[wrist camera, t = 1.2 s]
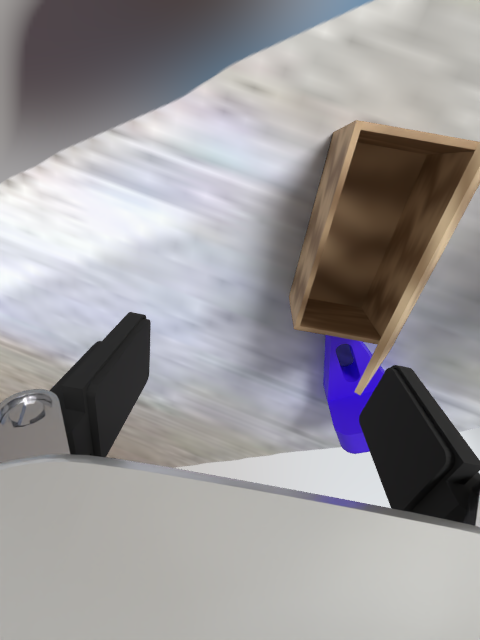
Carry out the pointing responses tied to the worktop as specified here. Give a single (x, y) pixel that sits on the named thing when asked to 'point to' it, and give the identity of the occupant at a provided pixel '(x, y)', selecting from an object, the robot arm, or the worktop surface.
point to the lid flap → (426, 265)
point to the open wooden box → (372, 225)
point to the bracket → (348, 391)
